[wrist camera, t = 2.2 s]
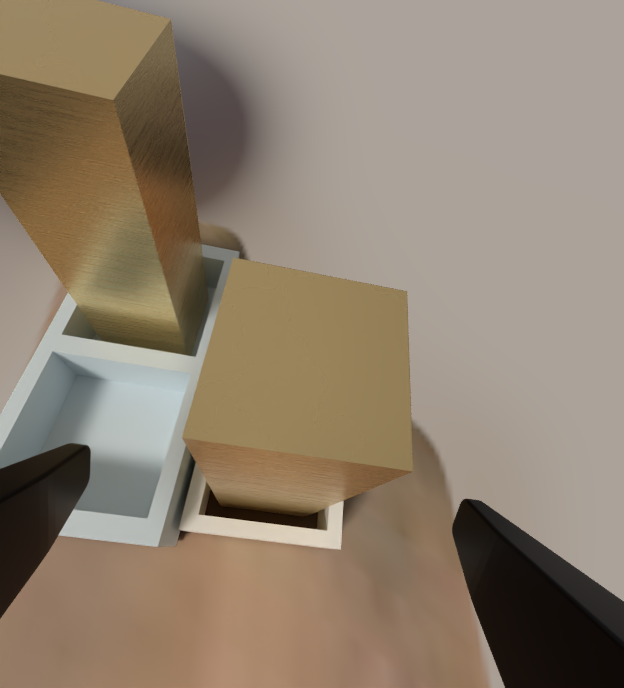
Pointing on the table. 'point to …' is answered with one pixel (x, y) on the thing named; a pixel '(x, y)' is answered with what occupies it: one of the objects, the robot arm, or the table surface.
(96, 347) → the two-compartment pale blue organizer
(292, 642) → the table surface
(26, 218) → the seated billet
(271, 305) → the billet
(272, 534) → the box
